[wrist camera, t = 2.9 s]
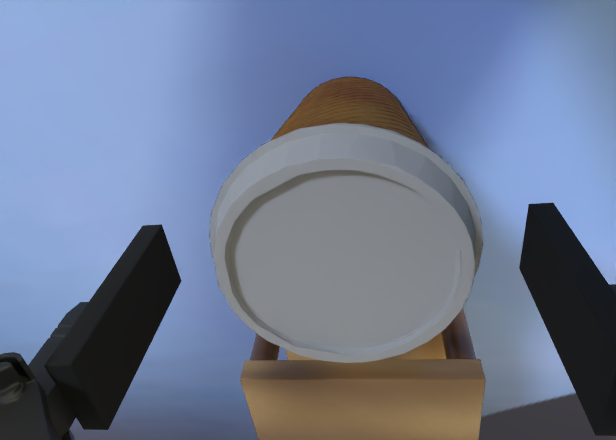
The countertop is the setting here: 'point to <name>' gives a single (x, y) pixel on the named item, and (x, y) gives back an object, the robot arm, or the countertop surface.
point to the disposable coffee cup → (346, 231)
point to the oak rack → (369, 393)
